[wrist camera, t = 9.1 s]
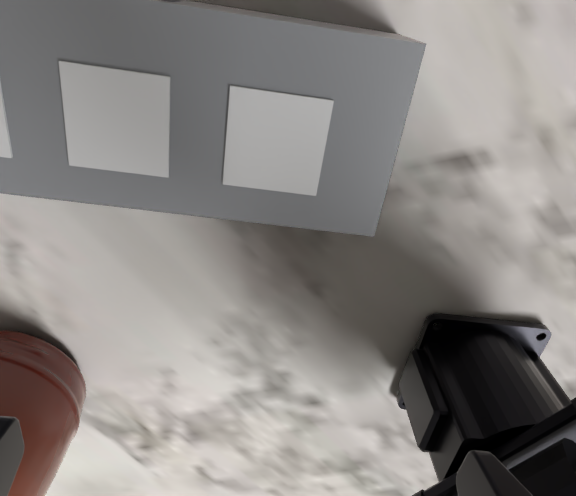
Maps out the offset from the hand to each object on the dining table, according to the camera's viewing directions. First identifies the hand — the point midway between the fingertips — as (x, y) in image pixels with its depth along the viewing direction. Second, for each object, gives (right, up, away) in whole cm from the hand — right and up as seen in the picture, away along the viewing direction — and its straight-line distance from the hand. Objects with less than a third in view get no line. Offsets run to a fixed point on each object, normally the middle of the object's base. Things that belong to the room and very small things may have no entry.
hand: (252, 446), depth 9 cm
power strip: (-7, +10, +8) cm, 15 cm away
